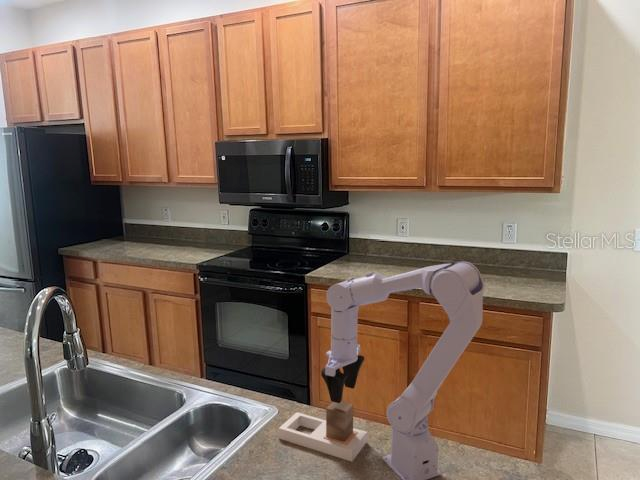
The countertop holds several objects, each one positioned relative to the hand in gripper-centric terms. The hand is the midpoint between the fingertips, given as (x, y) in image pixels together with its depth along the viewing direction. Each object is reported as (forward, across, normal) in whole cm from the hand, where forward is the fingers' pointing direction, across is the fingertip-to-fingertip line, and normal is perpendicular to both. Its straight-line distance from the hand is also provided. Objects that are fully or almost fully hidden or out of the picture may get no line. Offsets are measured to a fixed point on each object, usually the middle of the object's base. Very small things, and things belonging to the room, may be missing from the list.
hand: (343, 394), depth 105 cm
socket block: (+10, +3, -4) cm, 11 cm away
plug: (+8, +3, +1) cm, 8 cm away
